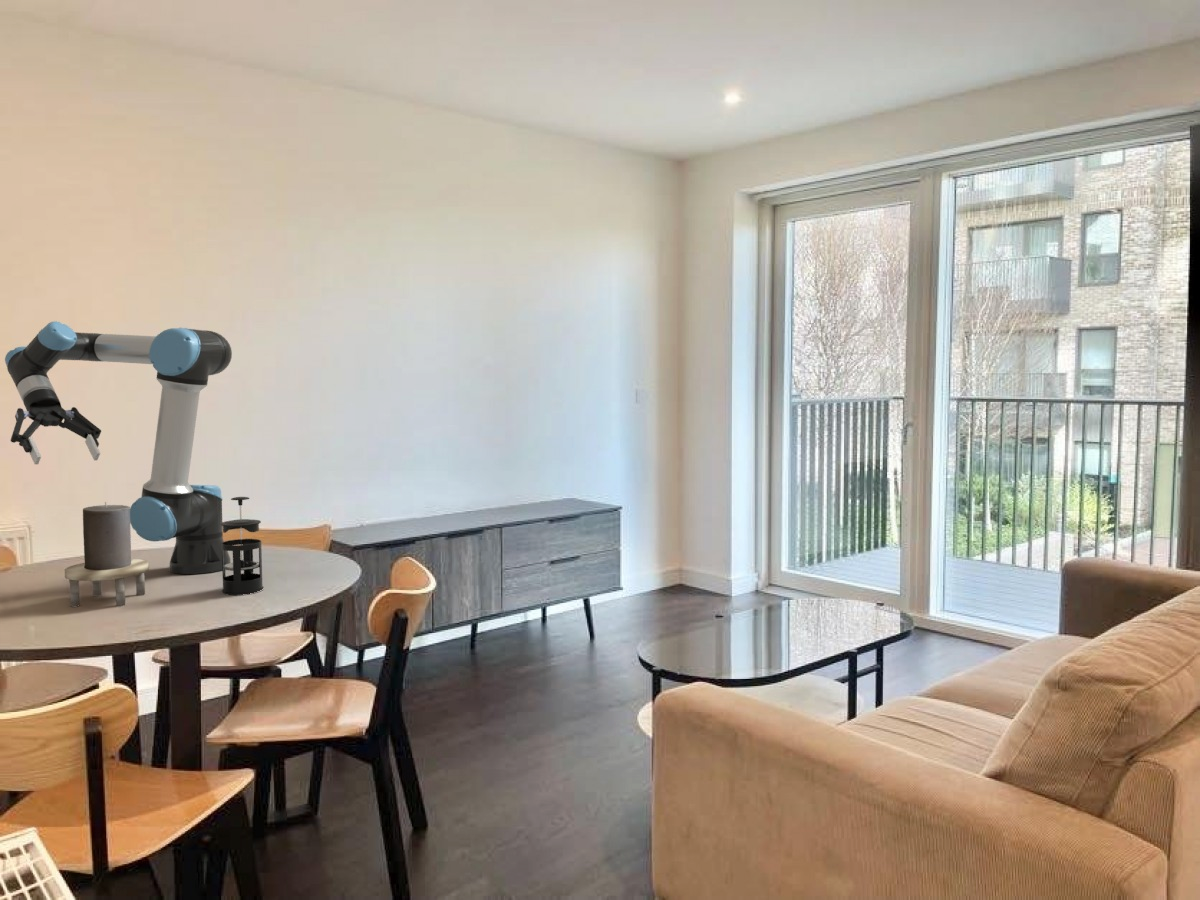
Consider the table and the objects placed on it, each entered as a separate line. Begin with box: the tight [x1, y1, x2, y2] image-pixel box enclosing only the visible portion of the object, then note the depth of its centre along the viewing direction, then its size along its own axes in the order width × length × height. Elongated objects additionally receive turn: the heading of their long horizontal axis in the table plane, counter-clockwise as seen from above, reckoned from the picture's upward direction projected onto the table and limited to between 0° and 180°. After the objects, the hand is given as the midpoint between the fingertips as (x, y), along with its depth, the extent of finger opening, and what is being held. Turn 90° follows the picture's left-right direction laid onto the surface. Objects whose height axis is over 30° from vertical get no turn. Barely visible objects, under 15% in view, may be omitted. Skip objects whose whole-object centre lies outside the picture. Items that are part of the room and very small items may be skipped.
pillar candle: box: [82, 501, 132, 570], centre depth 202 cm, size 10×10×15 cm
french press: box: [221, 496, 264, 596], centre depth 212 cm, size 12×9×23 cm
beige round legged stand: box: [64, 558, 150, 607], centre depth 202 cm, size 17×17×8 cm
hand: (68, 458), depth 216 cm, fingers open, 13 cm apart
